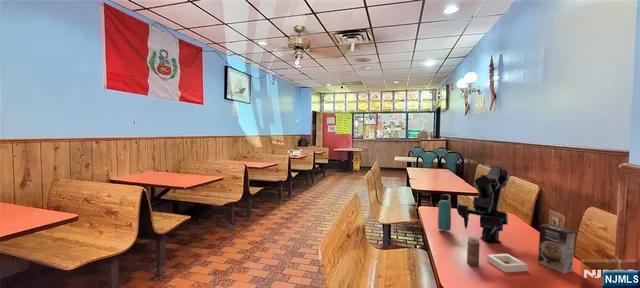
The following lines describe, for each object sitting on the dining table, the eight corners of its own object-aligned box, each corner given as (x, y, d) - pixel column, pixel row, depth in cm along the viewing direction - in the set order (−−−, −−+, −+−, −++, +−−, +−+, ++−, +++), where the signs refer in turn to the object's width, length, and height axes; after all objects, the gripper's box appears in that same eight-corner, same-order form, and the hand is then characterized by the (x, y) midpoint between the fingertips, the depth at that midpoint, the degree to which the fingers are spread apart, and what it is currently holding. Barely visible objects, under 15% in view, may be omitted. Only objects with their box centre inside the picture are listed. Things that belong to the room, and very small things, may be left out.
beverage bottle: (452, 234, 142) (453, 196, 141) (438, 233, 143) (439, 195, 142) (448, 229, 148) (450, 193, 147) (436, 228, 150) (437, 193, 149)
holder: (507, 259, 114) (507, 253, 114) (527, 271, 105) (527, 264, 104) (486, 260, 113) (486, 254, 113) (504, 272, 103) (505, 266, 103)
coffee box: (537, 263, 111) (538, 224, 110) (546, 260, 113) (548, 222, 112) (564, 274, 102) (566, 232, 102) (573, 270, 105) (575, 230, 104)
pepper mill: (474, 261, 112) (474, 236, 111) (481, 266, 108) (482, 240, 107) (464, 262, 111) (465, 237, 111) (471, 267, 107) (472, 241, 107)
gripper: (458, 186, 123) (449, 215, 115) (508, 193, 110) (501, 226, 103) (463, 200, 129) (455, 229, 121) (510, 208, 116) (504, 241, 109)
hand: (477, 231), depth 113 cm, fingers open, 9 cm apart
